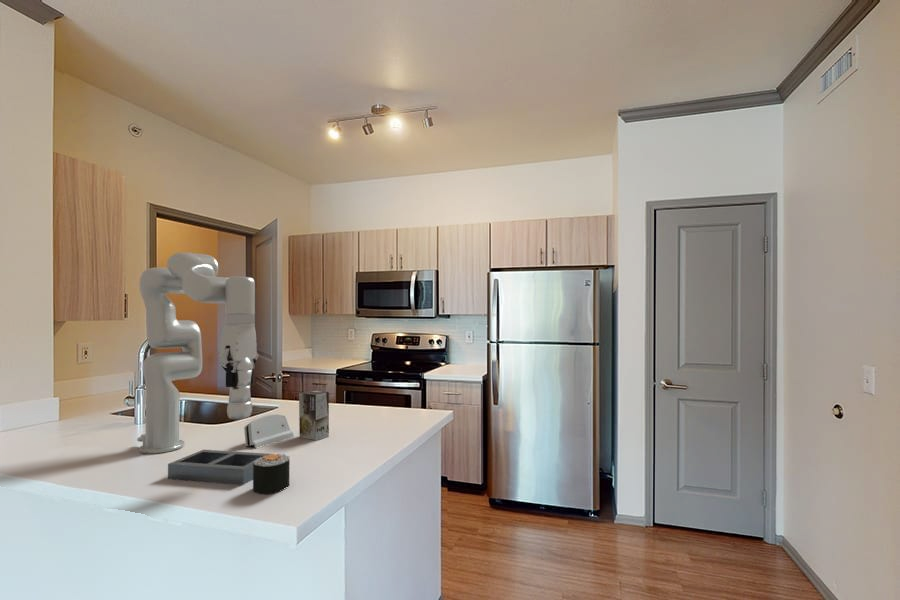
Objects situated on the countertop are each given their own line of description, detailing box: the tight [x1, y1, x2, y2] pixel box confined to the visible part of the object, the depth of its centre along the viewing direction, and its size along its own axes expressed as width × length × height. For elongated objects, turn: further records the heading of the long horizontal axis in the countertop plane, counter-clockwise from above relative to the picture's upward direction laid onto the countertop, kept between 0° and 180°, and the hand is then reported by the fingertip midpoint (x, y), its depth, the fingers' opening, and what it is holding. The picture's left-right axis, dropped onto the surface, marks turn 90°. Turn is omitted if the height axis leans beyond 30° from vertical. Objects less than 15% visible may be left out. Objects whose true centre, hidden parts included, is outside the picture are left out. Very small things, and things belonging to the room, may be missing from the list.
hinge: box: [243, 414, 295, 449], centre depth 157 cm, size 17×5×10 cm, turn 151°
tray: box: [167, 449, 271, 485], centre depth 126 cm, size 23×13×4 cm, turn 79°
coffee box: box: [298, 389, 330, 441], centre depth 163 cm, size 9×6×16 cm
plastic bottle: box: [226, 358, 253, 420], centre depth 126 cm, size 6×7×20 cm
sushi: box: [252, 453, 291, 495], centre depth 115 cm, size 8×8×8 cm
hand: (239, 384), depth 126 cm, fingers closed on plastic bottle, 6 cm apart
